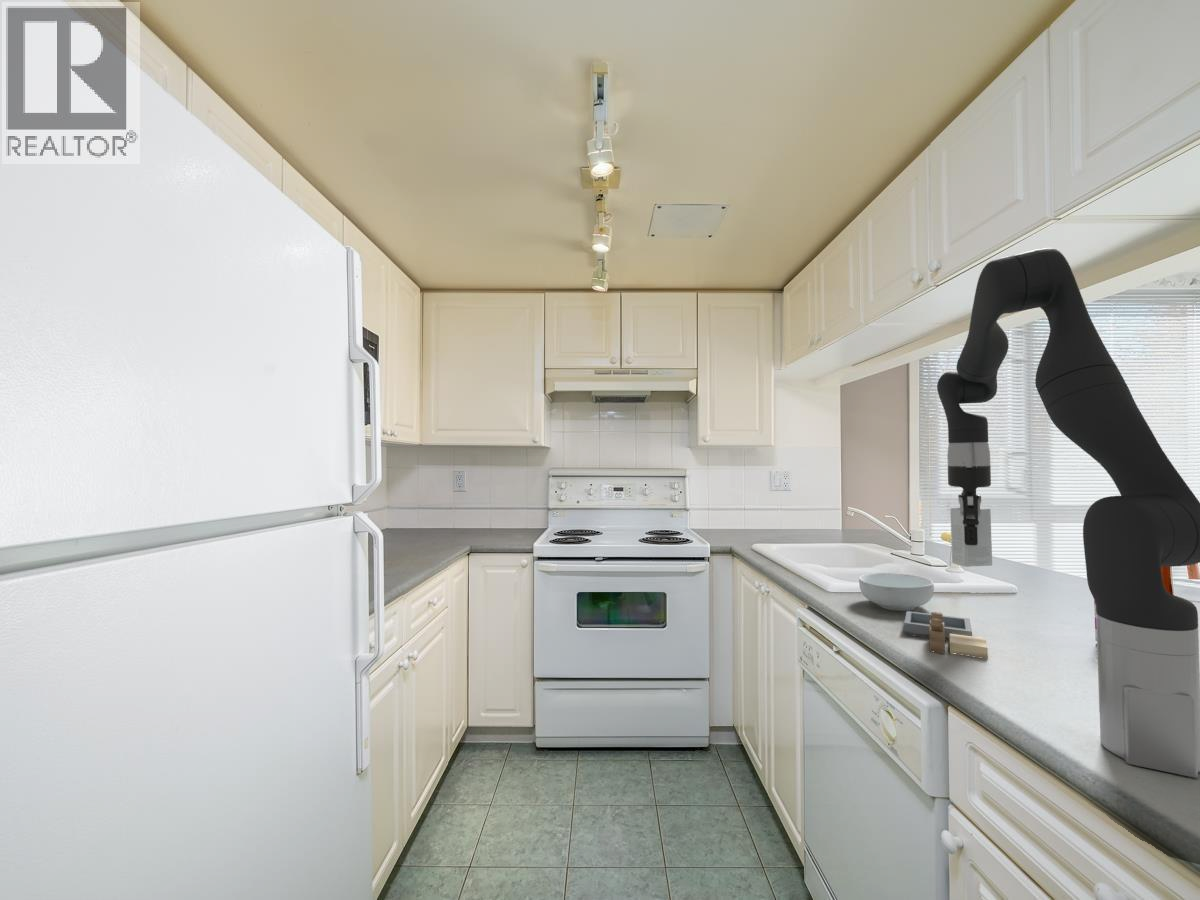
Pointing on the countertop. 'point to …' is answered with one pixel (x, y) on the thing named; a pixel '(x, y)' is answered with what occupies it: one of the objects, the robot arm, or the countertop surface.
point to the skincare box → (971, 553)
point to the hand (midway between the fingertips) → (970, 542)
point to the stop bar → (937, 633)
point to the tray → (921, 625)
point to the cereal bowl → (896, 590)
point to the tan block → (968, 645)
